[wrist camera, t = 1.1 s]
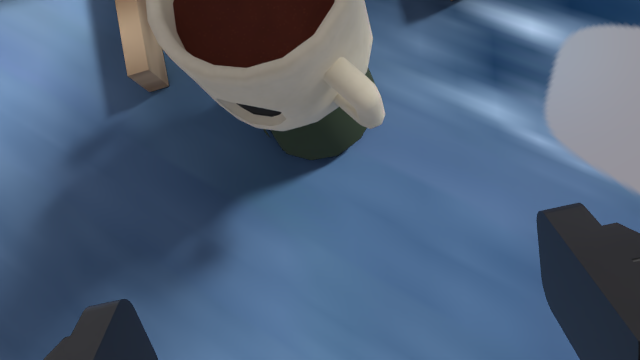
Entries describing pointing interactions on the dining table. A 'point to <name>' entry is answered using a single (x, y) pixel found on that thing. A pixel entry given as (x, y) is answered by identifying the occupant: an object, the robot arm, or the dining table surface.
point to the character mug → (279, 65)
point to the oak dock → (141, 46)
